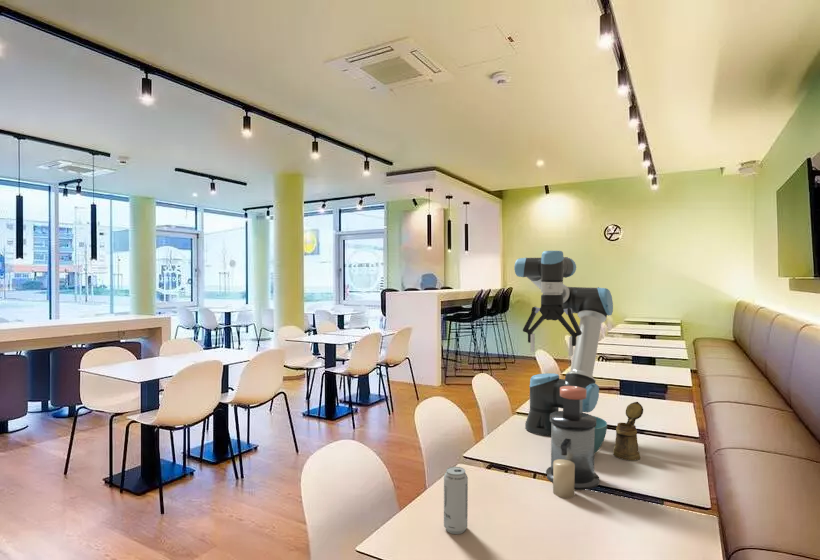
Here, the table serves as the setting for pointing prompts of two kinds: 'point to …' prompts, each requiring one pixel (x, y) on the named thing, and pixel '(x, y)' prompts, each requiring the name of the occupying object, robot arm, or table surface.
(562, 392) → the pump head
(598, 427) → the teal bowl
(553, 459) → the airpot
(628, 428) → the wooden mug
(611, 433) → the table surface
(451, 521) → the energy drink can
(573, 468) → the beige rounded cylinder
